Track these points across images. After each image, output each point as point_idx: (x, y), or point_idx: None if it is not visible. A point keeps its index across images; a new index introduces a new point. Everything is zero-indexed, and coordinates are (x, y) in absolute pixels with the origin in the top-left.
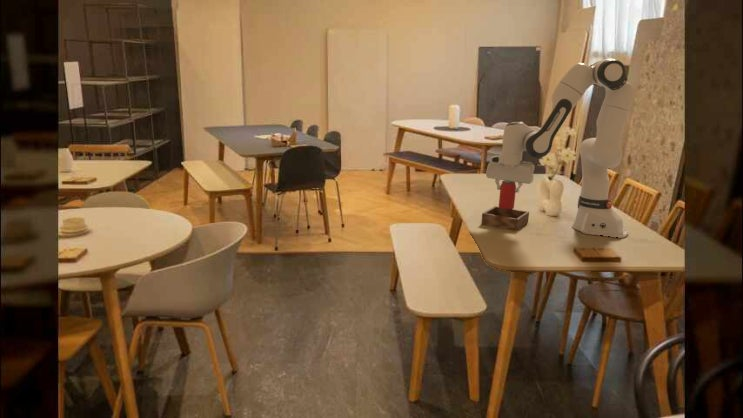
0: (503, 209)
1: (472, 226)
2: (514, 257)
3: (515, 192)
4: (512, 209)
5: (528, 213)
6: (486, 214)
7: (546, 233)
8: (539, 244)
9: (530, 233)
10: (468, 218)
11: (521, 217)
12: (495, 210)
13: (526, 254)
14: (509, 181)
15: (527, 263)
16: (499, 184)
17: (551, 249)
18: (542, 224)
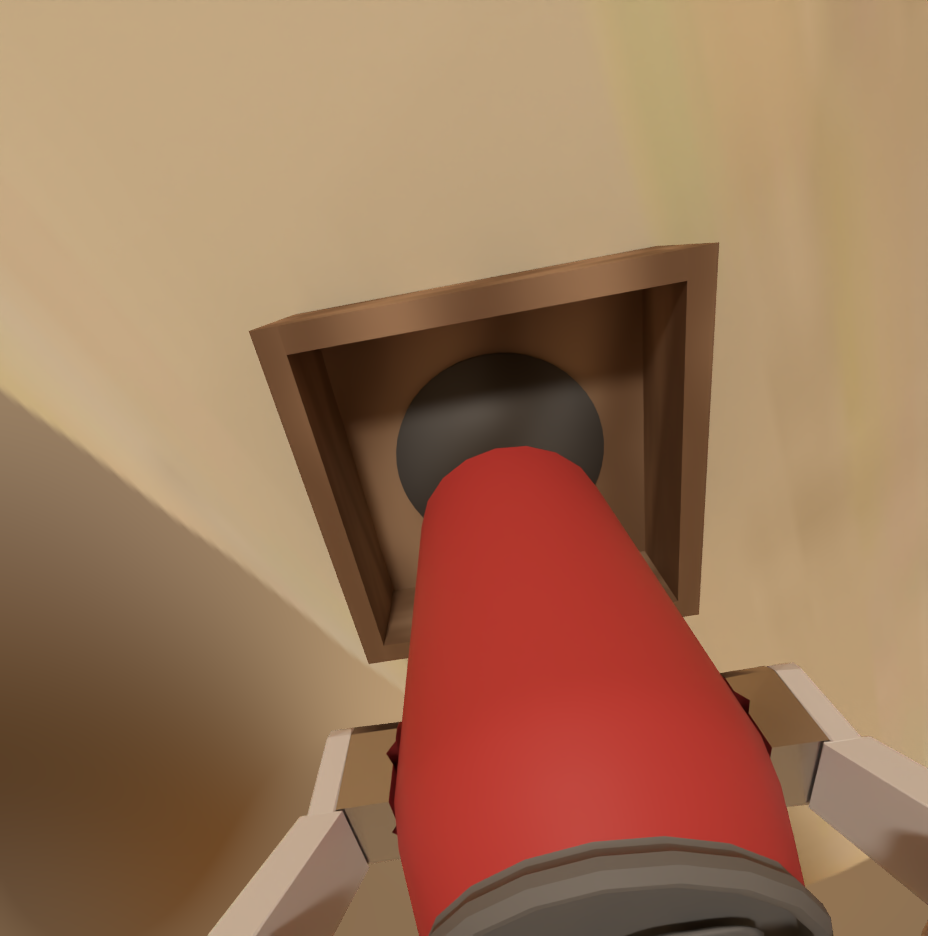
0: (386, 334)
1: (372, 665)
2: None
3: (696, 640)
4: (497, 307)
5: (708, 272)
6: (407, 655)
7: (872, 451)
8: (848, 676)
9: (756, 536)
10: (208, 536)
11: (702, 533)
12: (304, 359)
13: (806, 809)
14: (570, 870)
15: (828, 867)
16: (333, 839)
17: (921, 699)
18: (806, 185)
